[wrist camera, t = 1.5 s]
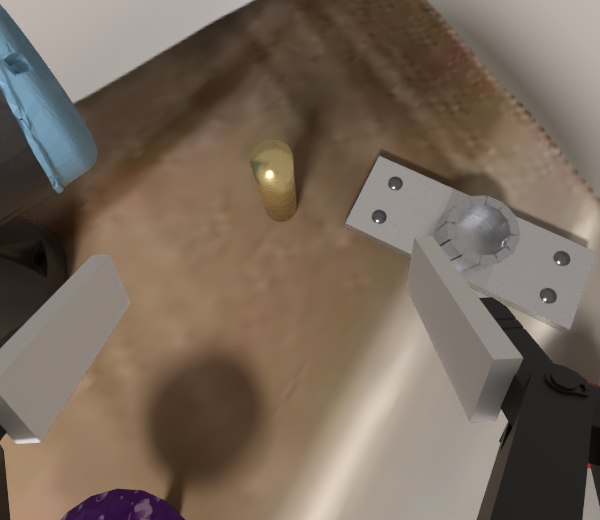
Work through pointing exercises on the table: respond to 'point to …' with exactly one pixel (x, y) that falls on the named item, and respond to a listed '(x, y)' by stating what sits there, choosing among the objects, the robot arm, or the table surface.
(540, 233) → the hinge leaves
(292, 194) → the hinge pin
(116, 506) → the decorative mushroom
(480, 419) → the robot arm
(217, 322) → the table surface
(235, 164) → the table surface
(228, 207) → the table surface
